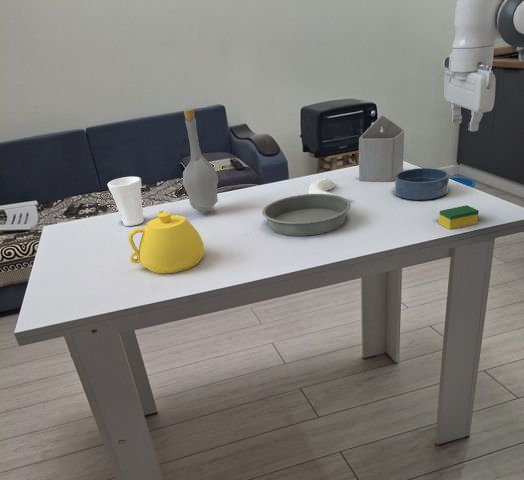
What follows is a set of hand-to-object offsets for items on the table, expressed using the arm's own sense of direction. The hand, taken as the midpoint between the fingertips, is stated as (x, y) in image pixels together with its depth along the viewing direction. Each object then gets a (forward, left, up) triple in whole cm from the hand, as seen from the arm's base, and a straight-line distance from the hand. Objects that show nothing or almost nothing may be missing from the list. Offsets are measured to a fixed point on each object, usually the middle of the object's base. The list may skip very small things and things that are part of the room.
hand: (464, 127), depth 127 cm
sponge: (-1, 0, -24) cm, 24 cm away
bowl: (+13, -24, -24) cm, 37 cm away
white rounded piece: (+39, -18, -24) cm, 50 cm away
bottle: (+74, +2, -24) cm, 78 cm away
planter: (+27, -38, -24) cm, 53 cm away
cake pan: (+39, +5, -24) cm, 46 cm away
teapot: (+65, +37, -24) cm, 79 cm away
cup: (+93, +14, -24) cm, 97 cm away
